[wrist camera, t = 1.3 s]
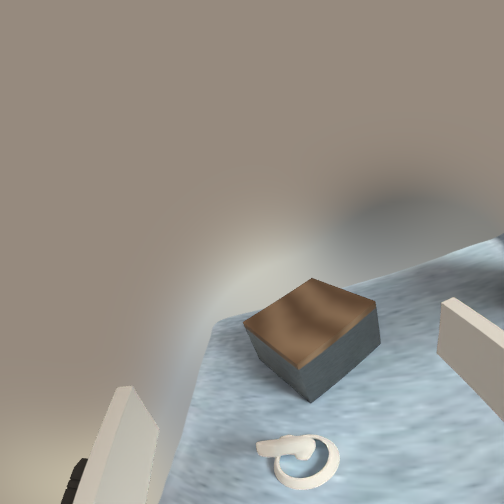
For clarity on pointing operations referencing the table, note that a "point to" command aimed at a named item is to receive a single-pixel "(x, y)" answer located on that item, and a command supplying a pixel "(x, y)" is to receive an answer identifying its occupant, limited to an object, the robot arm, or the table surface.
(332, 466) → the white ring with handle
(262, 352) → the block
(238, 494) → the table surface
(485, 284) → the table surface
